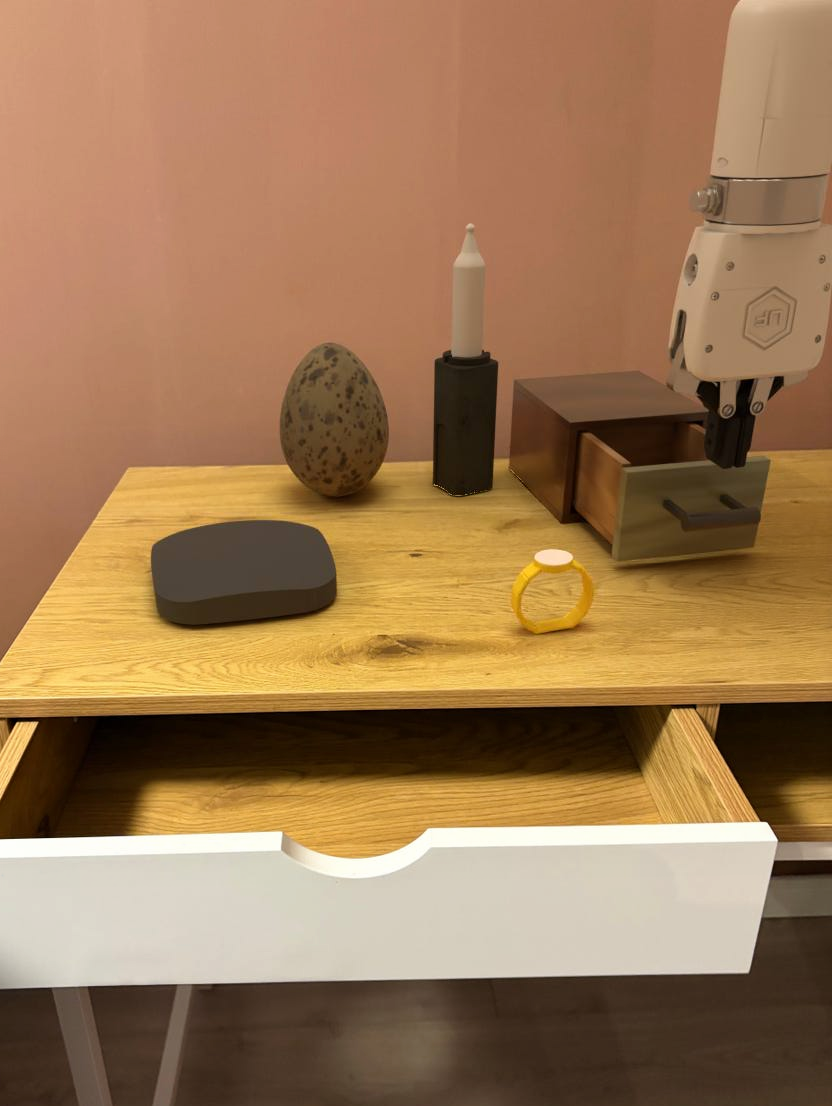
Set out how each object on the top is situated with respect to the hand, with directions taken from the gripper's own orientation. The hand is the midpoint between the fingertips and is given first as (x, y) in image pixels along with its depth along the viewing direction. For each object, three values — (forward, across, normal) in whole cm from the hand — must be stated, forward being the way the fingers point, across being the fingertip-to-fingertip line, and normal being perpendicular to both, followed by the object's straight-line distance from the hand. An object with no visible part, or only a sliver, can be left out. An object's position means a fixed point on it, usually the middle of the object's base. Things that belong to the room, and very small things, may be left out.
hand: (724, 462), depth 75 cm
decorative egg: (+10, -27, +26) cm, 39 cm away
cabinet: (+10, -1, +22) cm, 24 cm away
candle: (+10, -14, +26) cm, 31 cm away
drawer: (+9, -1, +8) cm, 12 cm away
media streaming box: (+9, -38, +8) cm, 39 cm away
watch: (+10, -16, -6) cm, 19 cm away
